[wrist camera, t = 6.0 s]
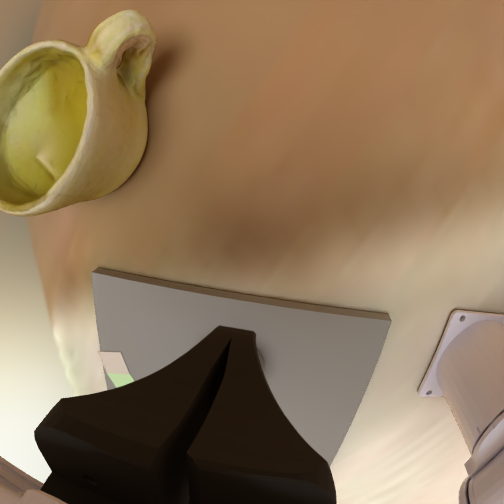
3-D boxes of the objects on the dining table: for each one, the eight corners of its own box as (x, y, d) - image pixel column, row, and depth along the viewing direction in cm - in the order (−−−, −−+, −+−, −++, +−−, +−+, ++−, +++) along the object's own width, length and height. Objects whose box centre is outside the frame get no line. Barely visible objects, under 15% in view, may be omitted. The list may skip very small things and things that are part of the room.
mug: (69, 254, 20) (-41, 240, 10) (43, 141, 21) (-40, 92, 11) (223, 170, 20) (176, 82, 10) (171, 61, 21) (122, -32, 11)
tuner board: (388, 313, 20) (392, 321, 19) (315, 485, 27) (315, 493, 26) (95, 266, 22) (88, 272, 21) (125, 447, 29) (121, 454, 28)
